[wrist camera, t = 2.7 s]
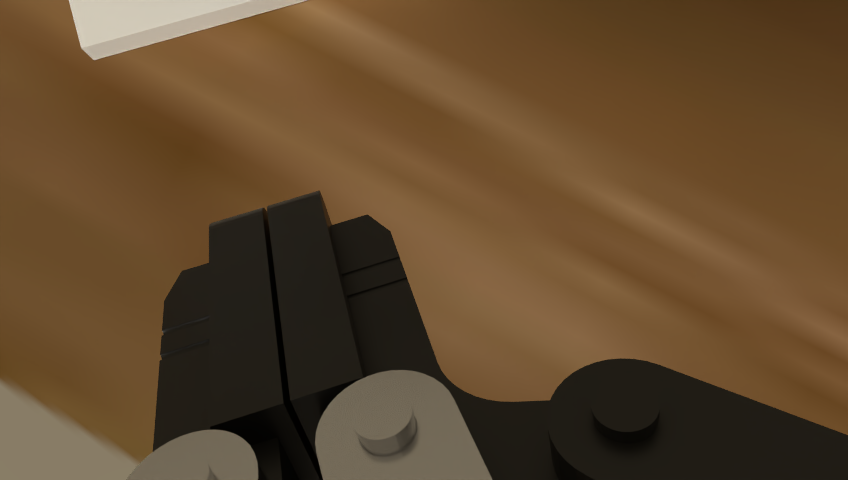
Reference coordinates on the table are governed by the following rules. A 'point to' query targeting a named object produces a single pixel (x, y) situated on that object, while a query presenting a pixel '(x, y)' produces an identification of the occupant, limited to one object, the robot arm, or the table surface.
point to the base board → (154, 20)
